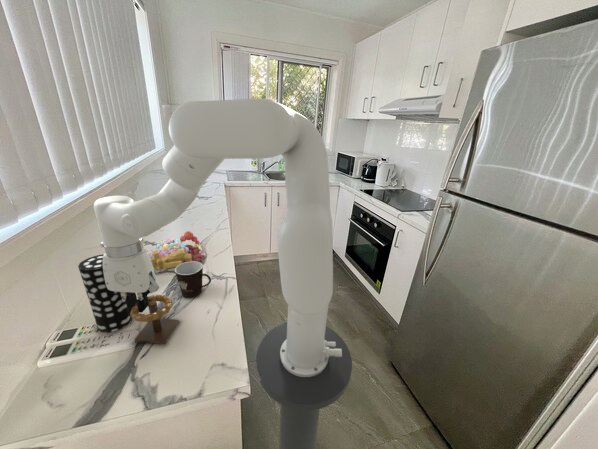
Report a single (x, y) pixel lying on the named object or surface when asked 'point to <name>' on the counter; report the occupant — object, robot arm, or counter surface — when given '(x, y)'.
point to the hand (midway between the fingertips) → (138, 308)
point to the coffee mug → (190, 278)
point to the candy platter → (175, 253)
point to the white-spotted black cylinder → (103, 297)
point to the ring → (152, 316)
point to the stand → (156, 328)
